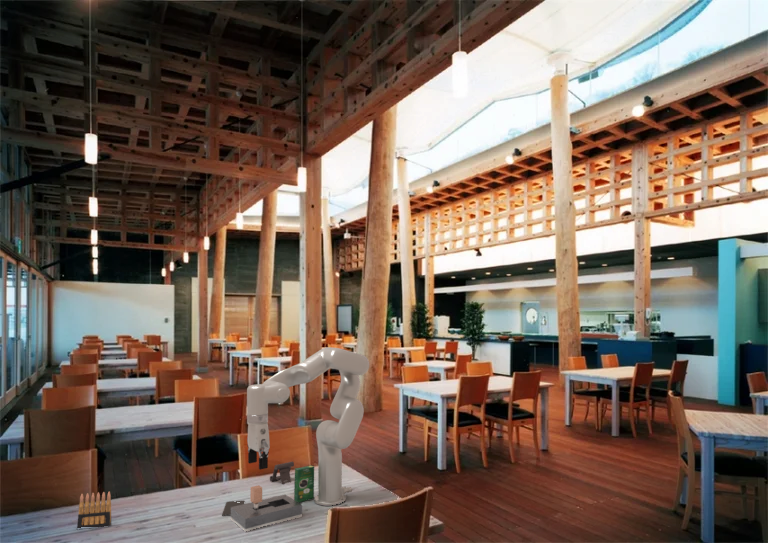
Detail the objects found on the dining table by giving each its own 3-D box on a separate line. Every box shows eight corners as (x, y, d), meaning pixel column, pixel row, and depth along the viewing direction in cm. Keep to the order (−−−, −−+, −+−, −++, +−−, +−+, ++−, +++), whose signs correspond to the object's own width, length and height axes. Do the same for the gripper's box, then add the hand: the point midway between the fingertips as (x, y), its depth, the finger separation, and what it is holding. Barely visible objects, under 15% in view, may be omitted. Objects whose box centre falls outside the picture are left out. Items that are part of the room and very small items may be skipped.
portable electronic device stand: (287, 477, 240) (287, 458, 241) (295, 481, 234) (295, 462, 235) (269, 481, 235) (269, 462, 235) (278, 485, 229) (278, 466, 229)
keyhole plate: (285, 506, 204) (285, 494, 204) (301, 516, 192) (301, 504, 193) (230, 519, 190) (230, 507, 191) (245, 532, 179) (245, 518, 180)
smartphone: (226, 503, 208) (221, 517, 193) (226, 501, 208) (221, 515, 194) (245, 502, 209) (241, 516, 195) (245, 500, 210) (241, 513, 195)
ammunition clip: (111, 524, 187) (112, 490, 188) (110, 526, 185) (111, 491, 186) (78, 527, 185) (79, 493, 186) (76, 529, 183) (78, 494, 184)
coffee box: (310, 497, 213) (311, 464, 215) (314, 498, 211) (314, 465, 212) (293, 501, 208) (293, 468, 210) (297, 503, 206) (297, 469, 207)
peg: (259, 514, 192) (259, 484, 193) (264, 518, 189) (264, 487, 190) (247, 517, 190) (248, 487, 190) (252, 521, 186) (253, 490, 187)
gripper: (277, 420, 188) (277, 469, 186) (257, 413, 201) (257, 458, 200) (257, 423, 183) (257, 473, 182) (239, 416, 197) (239, 462, 196)
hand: (257, 465), depth 191 cm, fingers open, 9 cm apart
